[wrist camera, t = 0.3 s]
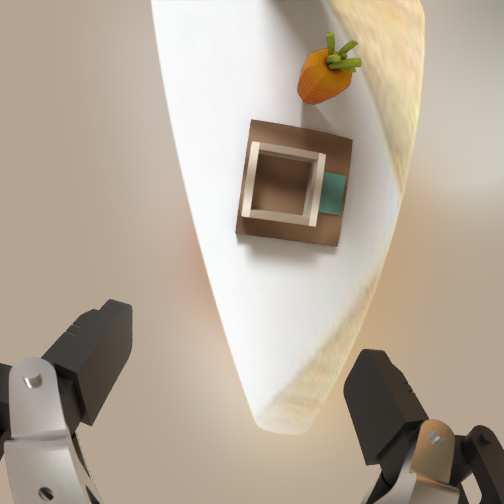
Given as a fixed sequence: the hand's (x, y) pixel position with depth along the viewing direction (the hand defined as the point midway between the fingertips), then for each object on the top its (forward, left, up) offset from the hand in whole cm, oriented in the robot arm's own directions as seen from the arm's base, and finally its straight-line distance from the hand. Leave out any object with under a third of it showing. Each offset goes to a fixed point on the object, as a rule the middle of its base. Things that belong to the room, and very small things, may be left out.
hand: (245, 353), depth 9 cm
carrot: (-19, +6, -27) cm, 33 cm away
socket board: (-7, +6, -27) cm, 29 cm away
